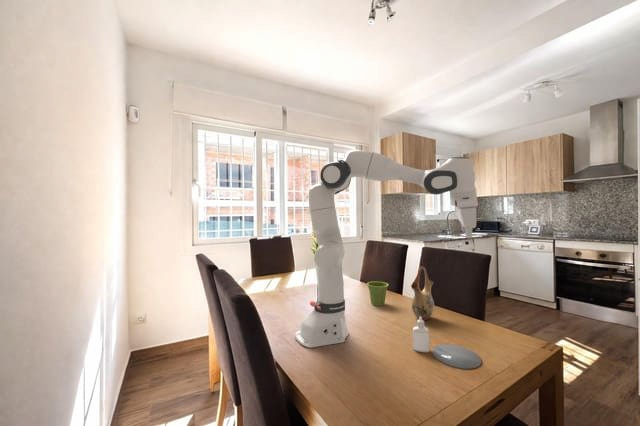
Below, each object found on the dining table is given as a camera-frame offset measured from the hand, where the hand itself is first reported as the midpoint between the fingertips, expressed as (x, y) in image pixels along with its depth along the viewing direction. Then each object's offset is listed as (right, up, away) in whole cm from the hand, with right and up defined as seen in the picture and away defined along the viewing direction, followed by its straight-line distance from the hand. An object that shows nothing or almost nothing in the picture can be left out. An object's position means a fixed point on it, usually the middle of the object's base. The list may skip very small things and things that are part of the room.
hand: (466, 234), depth 101 cm
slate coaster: (-9, -42, -10) cm, 44 cm away
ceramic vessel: (-7, -42, +24) cm, 49 cm away
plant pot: (-24, -43, +46) cm, 67 cm away
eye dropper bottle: (-20, -42, -5) cm, 47 cm away
